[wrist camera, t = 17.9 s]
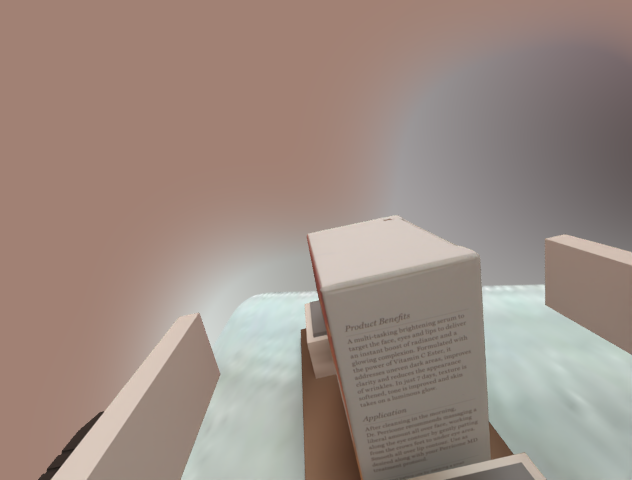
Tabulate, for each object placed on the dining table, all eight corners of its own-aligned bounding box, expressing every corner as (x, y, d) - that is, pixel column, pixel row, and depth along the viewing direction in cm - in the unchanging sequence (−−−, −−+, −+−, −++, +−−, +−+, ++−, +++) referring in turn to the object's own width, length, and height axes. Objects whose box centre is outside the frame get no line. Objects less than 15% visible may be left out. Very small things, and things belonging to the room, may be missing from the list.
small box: (337, 381, 20) (304, 232, 17) (418, 362, 20) (397, 211, 17) (367, 518, 12) (315, 286, 10) (497, 485, 12) (482, 249, 10)
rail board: (404, 316, 29) (398, 275, 28) (868, 967, 5) (948, 871, 4) (303, 338, 29) (293, 298, 27) (334, 1100, 5) (277, 1039, 4)
